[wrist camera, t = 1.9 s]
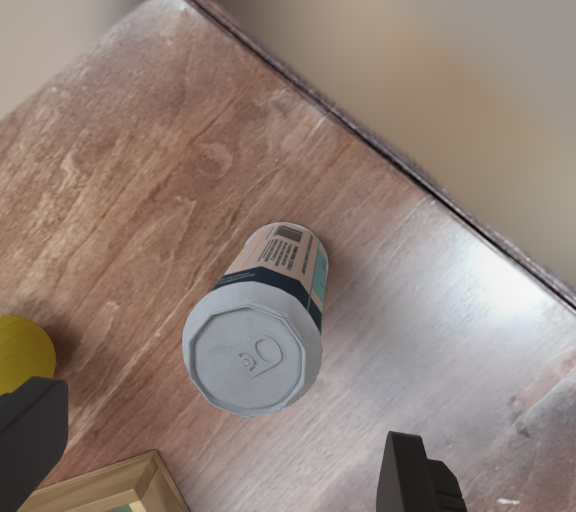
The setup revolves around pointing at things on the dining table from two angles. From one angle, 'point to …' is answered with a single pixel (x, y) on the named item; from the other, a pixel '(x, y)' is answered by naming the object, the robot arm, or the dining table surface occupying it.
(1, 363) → the lemon
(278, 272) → the beer can
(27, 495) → the robot arm
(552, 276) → the dining table surface
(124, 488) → the wooden divided tray
